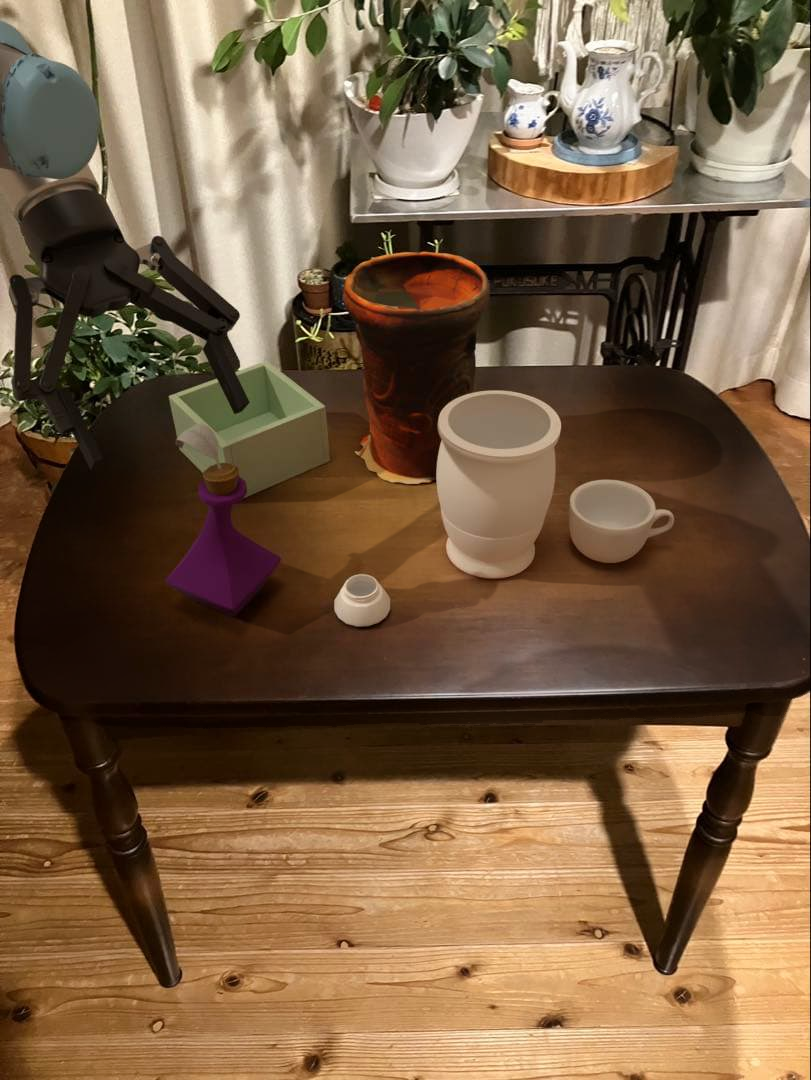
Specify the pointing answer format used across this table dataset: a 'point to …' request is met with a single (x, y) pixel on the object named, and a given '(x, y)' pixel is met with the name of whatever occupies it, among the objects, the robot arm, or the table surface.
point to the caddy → (257, 427)
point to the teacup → (613, 520)
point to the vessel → (413, 352)
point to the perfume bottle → (220, 539)
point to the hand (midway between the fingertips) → (172, 436)
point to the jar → (495, 479)
